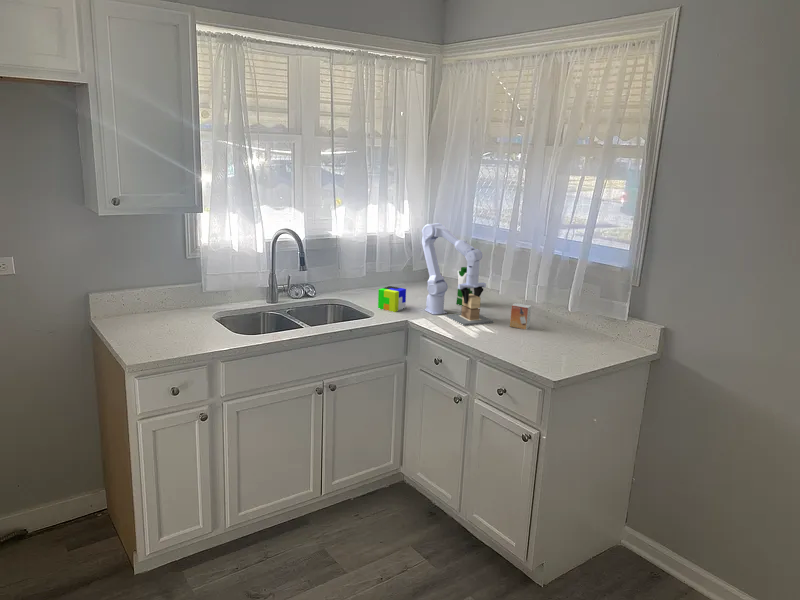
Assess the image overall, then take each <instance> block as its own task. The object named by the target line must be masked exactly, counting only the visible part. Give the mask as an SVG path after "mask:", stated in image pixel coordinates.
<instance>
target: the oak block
mask: <svg viewBox="0 0 800 600" xmlns="http://www.w3.org/2000/svg"><path fill="white" fill-rule="evenodd" d="M481 298H482V297H481V296H480V297H478V296H476V295H474V294H469V296H468V304H466V303H464V299H462V305H464V306H466V307H468V308H471V309H473V308H478V309H481V300H482V299H481Z"/></svg>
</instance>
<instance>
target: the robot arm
mask: <svg viewBox="0 0 800 600" xmlns="http://www.w3.org/2000/svg"><path fill="white" fill-rule="evenodd" d="M421 233H422V237H421V246H422V249H423V253H424V259H425V262H426V267H427V271H428V275H429V278H428V280H427V288H426V290H427V292H428V294H427V296H426V303H425V306H426V307H425V308H424V311H425V312H427V313H428V314H429V313H430V314H431V315H441V314H443V315H444V314H448V312H447V311H445V310H444V309H445V294H446V292H447V291H448V288H449V287H448V283H447V282H446V280H445V277H444V276H443V275H441V271H440V266H439V262H438V259H437V253H436V250H435V244H434V243H435V242H436V240H438V238H443V239H444V240H445V241H447V242H449V243H451V244H452V245H453V246H454V249H455V251H457V252H458V253H460V254H461V255H462V256H464V257H465V260H466V267H467V277H466V283H464V284H459V285H458V284H457V290H458V289H460V290H461V292H462V295H463V299H464V303H466V304H468V296H469V292H470V290H468V288H474V295H476V296H478V297H480V298H481V295H482V293H483V291H484V288H487V283H486V282H479V280H480V279H479V278H480V277H479V276H480V265H481V263H480V262H481V260H482V258H483V252H482V251H481V249H480V248H475V246H472V245H471V244H469V243H468V241H467V240H466V239H459V238H458V237H457V236H455V235H454V234H453V233H452V232H451V231H450V230H449V229H447V227H446V225H444V224H442V223H441V222H436V223H427V224H425V225H424V226H423V228H422V229H421Z"/></svg>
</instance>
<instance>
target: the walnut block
mask: <svg viewBox="0 0 800 600" xmlns="http://www.w3.org/2000/svg"><path fill="white" fill-rule="evenodd" d="M480 310H481V308H473V309H471V308H468V307H466V306H461V313H460V314H461V316H463V317H465V318H467V319H469V320H477V319H479V314H480Z"/></svg>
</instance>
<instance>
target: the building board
mask: <svg viewBox="0 0 800 600" xmlns="http://www.w3.org/2000/svg"><path fill="white" fill-rule="evenodd" d="M446 317H447V318H448V317H449V319H450V318H451V319H450V320H452V319H453V321H454V320H455V321H454V322H456V321H457V322H456V323H458V322H459V323H458V324H460V323H461V324H460V325H462V324H463V325H462V326H464V325H467V326H473V325H472V324H476V325H484V323H485V324H493V323H494V320H492V319H491V318H488V317H486V316H484V315H483V314H480V313H479V319H477V320H469V319H467V318H465V317H463V316H461V313H454V314H453V313H451V314H446Z"/></svg>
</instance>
